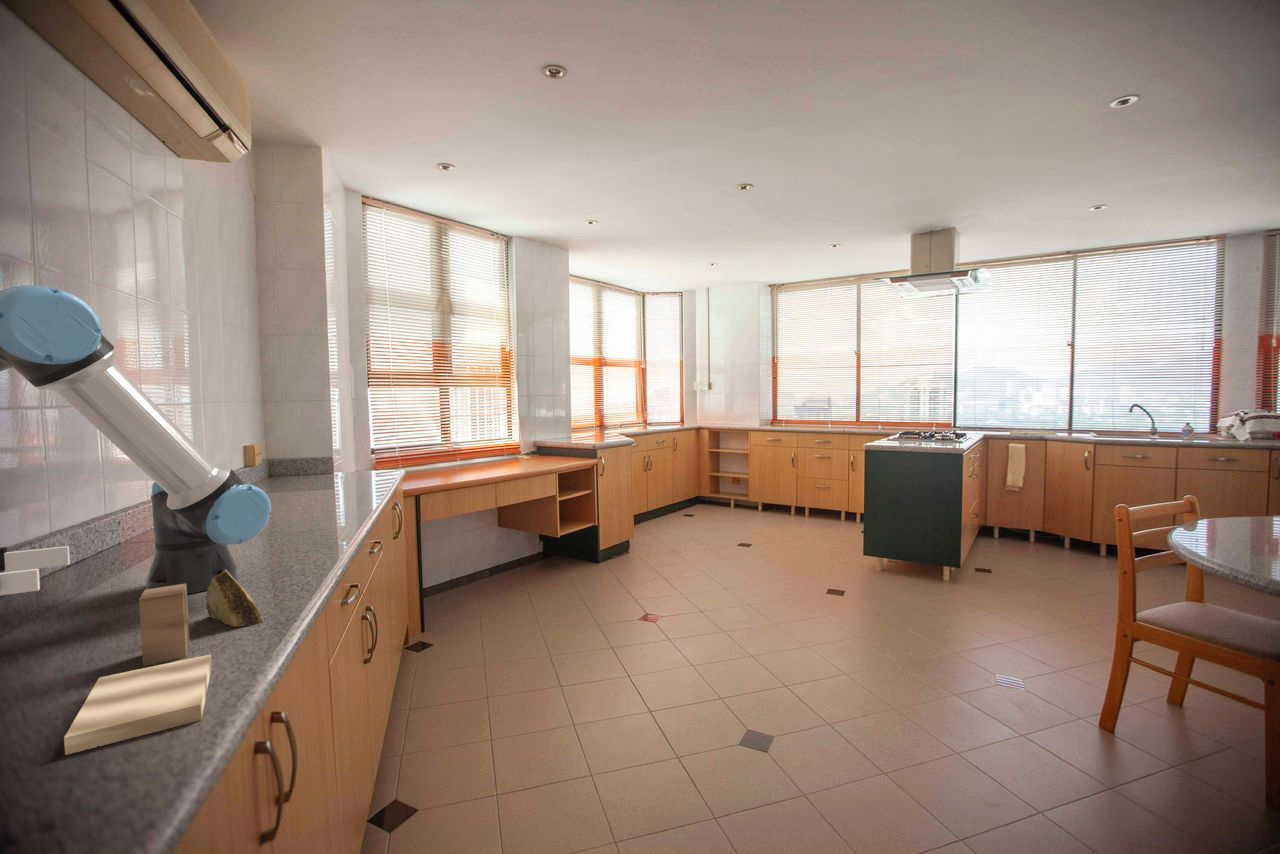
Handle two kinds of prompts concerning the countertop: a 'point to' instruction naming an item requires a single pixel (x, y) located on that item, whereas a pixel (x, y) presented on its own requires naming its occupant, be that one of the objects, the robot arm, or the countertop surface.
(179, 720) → the cutting board
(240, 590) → the rock
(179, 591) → the walnut block
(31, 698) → the countertop surface
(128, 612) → the countertop surface
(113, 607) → the countertop surface
